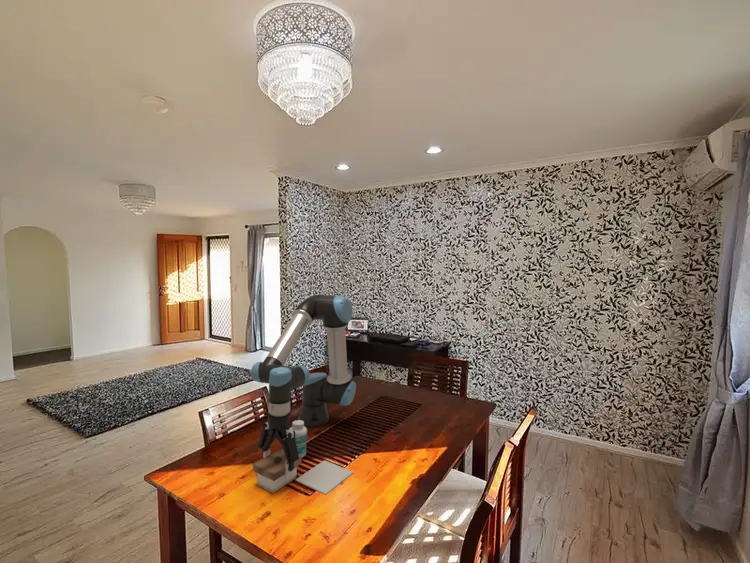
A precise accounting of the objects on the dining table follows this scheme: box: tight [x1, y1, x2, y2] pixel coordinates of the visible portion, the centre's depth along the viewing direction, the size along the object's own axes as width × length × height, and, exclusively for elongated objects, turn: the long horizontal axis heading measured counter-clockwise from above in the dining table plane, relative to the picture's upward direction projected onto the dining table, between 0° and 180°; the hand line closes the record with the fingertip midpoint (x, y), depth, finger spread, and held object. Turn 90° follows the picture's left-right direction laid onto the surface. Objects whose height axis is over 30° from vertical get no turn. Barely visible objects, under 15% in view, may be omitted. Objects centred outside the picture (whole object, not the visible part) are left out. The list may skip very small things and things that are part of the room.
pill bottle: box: [288, 419, 308, 458], centre depth 146 cm, size 8×7×14 cm
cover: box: [252, 448, 303, 481], centre depth 128 cm, size 10×13×3 cm
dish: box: [256, 466, 298, 494], centre depth 128 cm, size 8×11×5 cm
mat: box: [295, 460, 354, 495], centre depth 132 cm, size 14×16×1 cm
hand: (277, 473), depth 128 cm, fingers closed on cover, 10 cm apart
